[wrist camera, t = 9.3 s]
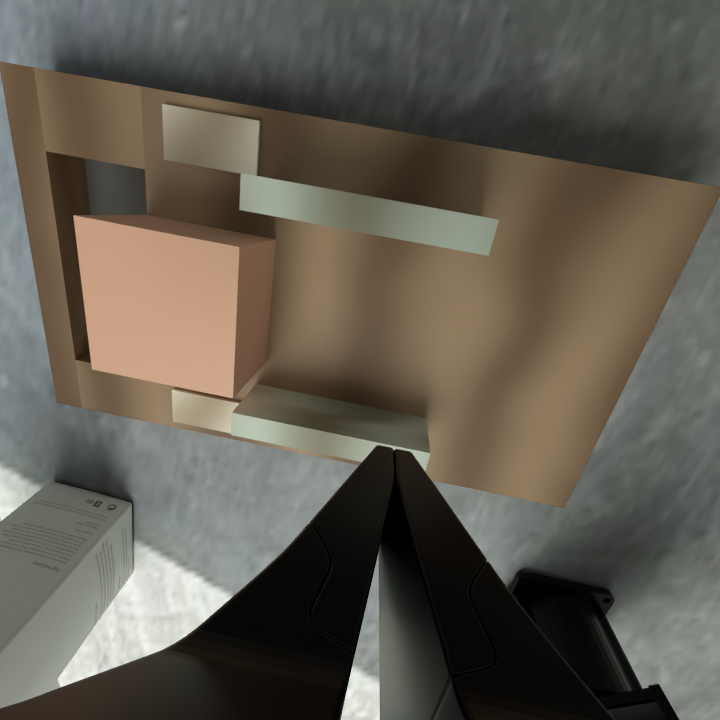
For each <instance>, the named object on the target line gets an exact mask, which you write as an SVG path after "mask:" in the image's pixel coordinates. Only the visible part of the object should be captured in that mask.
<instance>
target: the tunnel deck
mask: <svg viewBox="0 0 720 720" xmlns="http://www.w3.org/2000/svg"><path fill="white" fill-rule="evenodd" d="M0 72H1V78H2V84H3V89H4V95H5V101H6V107H7V113H8V119H9V124H10V130H11V136H12V142H13V148H14V154H15V160H16V165H17V171H18V177H19V183H20V189H21V195H22V200H23V206H24V212H25V218H26V224H27V230H28V235H29V241H30V247H31V253H32V259H33V265H34V270H35V276H36V282H37V288H38V294H39V300H40V305H41V311H42V317H43V323H44V329H45V335H46V340H47V346H48V352H49V358H50V364H51V370H52V375H53V381H54V387H55V393H56V399H57V403H61V404H66V405H71V406H76V407H81V408H85V409H90V410H95V411H100V412H105V413H110V414H114V415H119V416H124V417H129V418H134V419H139V420H143V421H148V422H153V423H158V424H163V425H168V426H172V427H177V428H182V429H187V430H192V431H197V432H201V433H206V434H211V435H216V436H221V437H225V438H230V439H235V440H240V441H245V442H250V443H254V444H259V445H264V446H269V447H274V448H279V449H283V450H288V451H293V452H298V453H303V454H308V455H312V456H317V457H322V458H327V459H332V460H337V461H341V462H346V463H351V464H356V465H360V464H361V463H362V462H363V460H364V459H365V458H366V457H367V456H368V455H369V453H370V452H371V451H372V450H373V449H374V448H375V447H376V446H377V445H381V446H386V447H391V448H393V450H395V449H401V450H406V451H410V452H412V454H413V455H414V456H415V458H416V459H417V461H418V462H419V463H420V465H421V466H422V468H423V469H424V471H425V472H426V473H427V475H428V476H429V478H430V479H431V480H433V481H438V482H443V483H448V484H452V485H457V486H462V487H467V488H472V489H477V490H481V491H486V492H491V493H496V494H501V495H506V496H510V497H515V498H520V499H525V500H530V501H535V502H539V503H544V504H549V505H554V506H559V507H563V508H564V507H565V505H566V503H567V501H568V499H569V497H570V495H571V493H572V491H573V489H574V487H575V485H576V483H577V481H578V479H579V477H580V475H581V473H582V471H583V469H584V467H585V465H586V463H587V461H588V459H589V457H590V455H591V453H592V451H593V449H594V447H595V445H596V443H597V441H598V439H599V437H600V435H601V433H602V431H603V429H604V427H605V425H606V423H607V421H608V419H609V417H610V415H611V413H612V411H613V409H614V407H615V405H616V403H617V401H618V399H619V397H620V395H621V393H622V391H623V389H624V387H625V385H626V383H627V381H628V379H629V377H630V375H631V373H632V371H633V369H634V367H635V365H636V363H637V361H638V359H639V357H640V355H641V353H642V351H643V349H644V347H645V345H646V343H647V341H648V339H649V337H650V335H651V333H652V331H653V329H654V327H655V325H656V323H657V321H658V319H659V317H660V315H661V313H662V311H663V309H664V307H665V305H666V303H667V301H668V298H669V296H670V294H671V292H672V290H673V288H674V286H675V284H676V282H677V280H678V278H679V276H680V274H681V272H682V270H683V268H684V266H685V264H686V262H687V260H688V258H689V256H690V254H691V252H692V250H693V248H694V246H695V244H696V242H697V240H698V238H699V236H700V234H701V232H702V230H703V228H704V226H705V224H706V222H707V220H708V218H709V216H710V214H711V212H712V210H713V208H714V206H715V204H716V202H717V200H718V198H719V196H720V187H715V186H709V185H704V184H698V183H692V182H686V181H681V180H675V179H669V178H664V177H658V176H652V175H646V174H641V173H635V172H629V171H623V170H618V169H612V168H606V167H601V166H595V165H589V164H583V163H578V162H572V161H566V160H560V159H555V158H549V157H543V156H538V155H532V154H526V153H520V152H515V151H509V150H503V149H497V148H492V147H486V146H480V145H475V144H469V143H463V142H457V141H452V140H446V139H440V138H434V137H429V136H423V135H417V134H411V133H406V132H400V131H394V130H389V129H383V128H377V127H371V126H366V125H360V124H354V123H348V122H343V121H337V120H331V119H326V118H320V117H314V116H308V115H303V114H297V113H291V112H285V111H280V110H274V109H268V108H263V107H257V106H251V105H245V104H240V103H234V102H228V101H222V100H217V99H211V98H205V97H199V96H194V95H188V94H182V93H177V92H171V91H165V90H159V89H154V88H148V87H142V86H136V85H131V84H125V83H119V82H114V81H108V80H102V79H96V78H91V77H85V76H79V75H73V74H68V73H62V72H56V71H51V70H45V69H39V68H33V67H28V66H22V65H16V64H10V63H5V62H0ZM73 215H150V216H155V217H160V218H165V219H171V220H176V221H181V222H186V223H192V224H197V225H202V226H207V227H212V228H218V229H223V230H228V231H233V232H239V233H244V234H249V235H254V236H260V237H265V238H270V239H275V240H276V247H275V260H274V272H273V285H272V297H271V310H270V323H269V335H268V348H267V360H266V363H265V364H264V365H263V366H262V367H261V368H260V369H259V370H258V372H257V373H256V374H255V375H254V376H253V377H252V378H251V379H250V380H249V381H248V382H247V384H246V385H245V386H244V387H243V388H242V389H241V390H240V391H239V392H238V393H237V395H236V396H235V397H234V398H228V397H224V396H219V395H214V394H209V393H204V392H199V391H194V390H190V389H185V388H180V387H175V386H170V385H165V384H160V383H156V382H151V381H146V380H141V379H136V378H131V377H127V376H122V375H117V374H112V373H107V372H102V371H97V370H93V369H92V366H91V357H90V349H89V341H88V333H87V324H86V316H85V308H84V300H83V291H82V283H81V275H80V267H79V258H78V250H77V242H76V234H75V225H74V217H73Z"/></svg>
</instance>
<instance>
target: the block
mask: <svg viewBox="0 0 720 720" xmlns="http://www.w3.org/2000/svg"><path fill="white" fill-rule="evenodd" d="M73 217H74V225H75V234H76V242H77V250H78V258H79V267H80V275H81V283H82V291H83V300H84V308H85V316H86V324H87V333H88V341H89V349H90V357H91V366H92V369H93V370H97V371H102V372H107V373H112V374H117V375H122V376H127V377H131V378H136V379H141V380H146V381H151V382H156V383H160V384H165V385H170V386H175V387H180V388H185V389H190V390H194V391H199V392H204V393H209V394H214V395H219V396H224V397H228V398H234V397H235V396H236V395H237V393H238V392H239V391H240V390H241V389H242V388H243V387H244V386H245V385H246V384H247V382H248V381H249V380H250V379H251V378H252V377H253V376H254V375H255V374H256V373H257V372H258V370H259V369H260V368H261V367H262V366H263V365H264V364H265V363H266V360H267V348H268V335H269V323H270V310H271V297H272V285H273V272H274V260H275V247H276V240H275V239H270V238H265V237H260V236H254V235H249V234H244V233H239V232H233V231H228V230H223V229H218V228H212V227H207V226H202V225H197V224H192V223H186V222H181V221H176V220H171V219H165V218H160V217H155V216H150V215H73Z"/></svg>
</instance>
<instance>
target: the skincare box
mask: <svg viewBox="0 0 720 720" xmlns="http://www.w3.org/2000/svg"><path fill="white" fill-rule="evenodd" d="M132 573H133V551H132V504H131V503H130V502H127V501H124V500H121V499H117V498H114V497H110V496H106V495H103V494H99V493H95V492H92V491H88V490H84V489H80V488H76V487H72V486H69V485H65V484H60V483H56V482H50V483H48V484H47V485H46V486H44V487H43V488H42V489H41V490H39V491H38V492H37V493H36V494H34V495H33V496H32V497H31V498H30V499H28V500H27V501H26V502H25V503H23V504H22V505H21V506H20V507H18V508H17V509H16V510H15V511H13V512H12V513H11V514H10V515H9V516H7V517H6V518H5V519H3V520H2V521H1V522H0V708H3V707H6V706H9V705H13V704H16V703H19V702H23V701H25V700H28V699H31V698H33V697H36V696H39V695H42V694H44V693H47V692H48V691H49V690H50V688H51V687H52V686H53V684H54V683H55V681H56V680H57V679H58V677H59V676H60V674H61V673H62V672H63V670H64V669H65V667H66V666H67V664H68V663H69V662H70V660H71V659H72V657H73V656H74V655H75V653H76V652H77V650H78V649H79V647H80V646H81V645H82V643H83V642H84V640H85V639H86V638H87V636H88V635H89V633H90V632H91V630H92V629H93V628H94V626H95V625H96V623H97V622H98V620H99V619H100V618H101V616H102V615H103V613H104V612H105V611H106V609H107V608H108V607H109V605H110V604H111V602H112V601H113V600H114V598H115V597H116V595H117V594H118V593H119V591H120V590H121V588H122V587H123V586H124V584H125V583H126V581H127V580H128V579H129V577H130V576H131V575H132Z"/></svg>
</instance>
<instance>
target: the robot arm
mask: <svg viewBox="0 0 720 720" xmlns="http://www.w3.org/2000/svg"><path fill="white" fill-rule="evenodd" d="M378 552H379V654H380V720H679V719H678V717H677V715H676V713H675V712H674V710H673V708H672V706H671V705H670V703H669V701H668V699H667V698H666V696H665V694H664V692H663V691H662V689H661V687H660V685H659V684H654V685H648V687H649V688H644V689H642V687H641V685H640V683H639V681H638V679H637V677H636V675H635V673H634V671H633V669H632V667H631V665H630V663H629V661H628V659H627V657H626V655H625V653H624V651H623V649H622V647H621V645H620V643H619V641H618V640H617V638H616V636H615V634H614V632H613V630H612V628H611V626H610V624H609V622H608V620H607V618H606V616H605V615H606V614H607V612H608V611H609V609H610V608H611V606H612V604H613V603H614V601H615V599H614V597H613V595H612V593H611V592H610V591H609V590H605V589H601V588H596V587H591V586H587V585H582V584H577V583H573V582H568V581H563V580H558V579H554V578H549V577H544V576H540V575H535V574H530V573H526V572H522V573H519V574H517V575H516V577H515V579H514V581H513V583H512V585H511V587H510V590H509V589H508V588H507V587H506V585H505V584H504V583H503V581H502V580H501V579H500V577H499V576H498V574H497V573H496V572H495V570H494V569H493V567H492V566H491V564H490V563H489V562H486V561H487V560H486V558H485V556H484V555H483V553H482V552H481V550H480V549H479V548H478V546H477V545H476V543H475V542H474V540H473V539H472V538H471V536H470V535H469V533H468V532H467V530H466V529H465V528H464V526H463V525H462V523H461V522H460V520H459V519H458V518H457V516H456V515H455V513H454V512H453V510H452V509H451V508H450V506H449V505H448V503H447V502H446V501H445V499H444V498H443V496H442V495H441V493H440V492H439V491H438V489H437V488H436V486H435V485H434V483H433V482H432V481H431V479H430V478H429V476H428V475H427V473H426V472H425V471H424V469H423V468H422V466H421V465H420V463H419V462H418V461H417V459H416V458H415V456H414V455H413V454H412V452H410V451H406V450H401V449H395V450H393V448H391V447H386V446H381V445H377V446H376V447H375V448H374V449H373V450H372V451H371V452H370V453H369V455H368V456H367V457H366V458H365V459H364V460H363V462H362V463H361V464H360V465H359V466H358V467H357V468H356V470H355V471H354V472H353V473H352V474H351V475H350V477H349V478H348V479H347V480H346V481H345V482H344V483H343V485H342V486H341V487H340V488H339V489H338V490H337V492H336V493H335V494H334V495H333V496H332V497H331V498H330V500H329V501H328V502H327V503H326V504H325V505H324V507H323V508H322V509H321V510H320V511H319V512H318V513H317V515H316V516H315V517H314V518H313V519H312V520H311V522H310V524H308V525H307V526H306V527H305V528H304V529H303V530H302V532H301V533H300V534H299V535H298V536H297V537H296V538H295V539H294V540H293V542H292V543H291V544H290V545H289V546H288V547H287V548H286V549H285V550H284V551H283V552H282V553H281V554H280V555H279V556H278V557H277V558H276V559H275V560H274V561H273V562H271V563H270V564H269V565H268V566H267V567H266V568H265V569H264V570H263V571H262V572H261V573H259V574H258V575H257V576H256V577H255V578H254V579H253V580H251V581H250V582H249V583H248V584H247V585H246V586H245V587H243V588H242V589H241V590H240V591H239V592H238V593H237V594H235V595H234V596H233V597H232V598H231V599H230V600H229V601H227V602H226V603H225V604H224V605H223V606H222V607H221V608H219V609H218V610H217V611H216V612H215V613H214V614H213V615H211V616H210V617H209V618H208V619H207V620H206V621H205V622H203V623H202V624H201V625H200V626H199V627H197V628H196V629H195V630H194V631H192V632H191V633H190V634H188V635H187V636H185V637H184V638H182V639H181V640H179V641H178V642H176V643H174V644H173V645H171V646H169V647H167V648H165V649H163V650H161V651H159V652H156V653H154V654H151V655H148V656H146V657H143V658H140V659H137V660H135V661H132V662H129V663H126V664H124V665H121V666H118V667H115V668H113V669H110V670H107V671H105V672H102V673H99V674H96V675H94V676H91V677H88V678H85V679H83V680H80V681H77V682H74V683H72V684H69V685H66V686H64V687H61V688H58V689H55V690H53V691H50V692H47V693H44V694H42V695H39V696H36V697H33V698H31V699H28V700H25V701H23V702H19V703H16V704H13V705H9V706H6V707H3V708H0V720H341V715H342V710H343V705H344V700H345V695H346V691H347V686H348V682H349V677H350V673H351V669H352V664H353V659H354V655H355V651H356V647H357V643H358V638H359V634H360V630H361V625H362V621H363V617H364V612H365V608H366V604H367V599H368V595H369V591H370V586H371V582H372V578H373V573H374V569H375V565H376V560H377V556H378Z"/></svg>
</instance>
